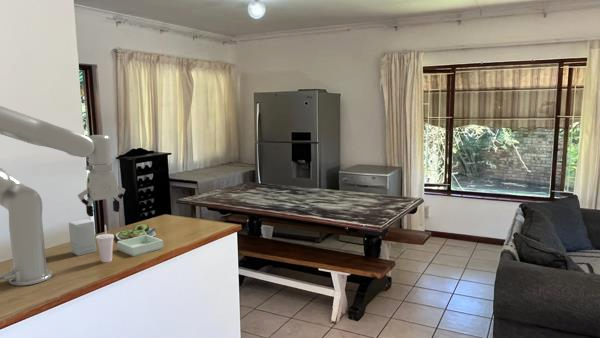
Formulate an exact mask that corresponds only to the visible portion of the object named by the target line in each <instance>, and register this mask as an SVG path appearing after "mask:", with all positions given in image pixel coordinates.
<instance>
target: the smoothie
mask: <svg viewBox="0 0 600 338" xmlns="http://www.w3.org/2000/svg"><path fill="white" fill-rule="evenodd" d="M114 235H115V234H113V233H107V225H106V224H104V233H103V234H98V235H95V241H96V242H97V247H98V252H99V257H100V261H101V263H110V262H112V260H113V248H114V239H115V236H114Z"/></svg>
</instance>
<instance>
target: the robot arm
mask: <svg viewBox="0 0 600 338" xmlns="http://www.w3.org/2000/svg"><path fill="white" fill-rule="evenodd" d="M0 135H1V136H5V137H9V138H11V139H14V140H15V139H16V140H17V141H20V142H24V143H27V144H30V145H34V146H39V147H45V148H50V149H52V150H53V149H54V150H57V151H61V152H64V153H66V154H67V155H70V156H71V157H79V158H86V157H88V160H89V161H88V165H87V166H85V170H86V171H89V172H88V173H87V179H86V189H84V190H83V191H82V192H79V194H77V197H78V199H79V200H80V202H81V203H82V204H84V205H85V208H86V209H85V210H86V215H87V216H88V217H90V218H92V217H94V207H93V205H92V204H93V203H94V201H101V200H109V199H113V201H112V209H113V212H116V213H119V212H120V202H121V200H122V198H123V197H124V194H125V191H126V189H125V188H124V187H121V186H118V185H119V184H118V181H117V176H116V171H115V170H113V166H112V165H113V164H112V148H111V137H110V136H109V135H107V134H93V135H84V134H81V133H79V132H76V131H74V130H73V131H72V130H70V129H67V128H64V127H61V126H59V125H55V124H53V123H49V122H48V121H44V120H41V119H39V118H36V117H33V116H30V115H27V114H24V113H21V112H18V111H16V110H13V109H10V108H8V107H4V106H1V105H0ZM85 196H86V197H87V199H85ZM42 199H43V198H41V195H40V194H39V193H38V191H37V190H35V189H33V188H31V187H29V186H27V185H25V184H23V183H22V182H20V181H19V180H17V179H16V178H15V177H13V176H12V175H10V174H9V173H8V172H7V171H6V170H5V169H4V168H2V167H0V206H2V207H3V208H5V209H6V210H7V211H8V230H9V238H10V247H11V257H12V266H13V267H10V270H8V271H7V272H5V273H4V272H3V273H0V281H2V280H4V281H8V282H9V283H8V284H10V285H13V286H18V287H19V286H30V285H34V284H38V283H39V284H40V283H42V282H45V281H47V280H49V279H50V278H52V276H53V271H52V270H50V269H48V267H47V257H46V247H45V235H44V224H43V200H42Z"/></svg>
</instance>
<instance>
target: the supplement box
mask: <svg viewBox="0 0 600 338" xmlns="http://www.w3.org/2000/svg"><path fill="white" fill-rule="evenodd" d="M68 231H69V232H68V233H69V240H70V241H69V242H70V252H71V253H72V254H73V255H76V256H79V257H80V256H82V255H87V254H91V253H95V252H97V245H96V242H97V241H96V234H95V233H96V232H95V231H96V230H95V221H94V220H91V219H89V218H83V219H78V220H73V221H69V222H68Z"/></svg>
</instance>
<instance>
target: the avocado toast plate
mask: <svg viewBox="0 0 600 338" xmlns="http://www.w3.org/2000/svg"><path fill="white" fill-rule="evenodd" d="M156 230H157V229H156V228H154V227H153V228H150V227H149V225H148V224H147V223H139V224H137V225H135V226H134V227H133V228H132V229H130V230H126V229H125V230H122V231H119V232H116V233H115V239H116V240H117V241H122V240H126V239H130V238H134V237H139V236H143V235H149V236H152V237H156V235H157V234H156V232H155V231H156Z"/></svg>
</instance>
